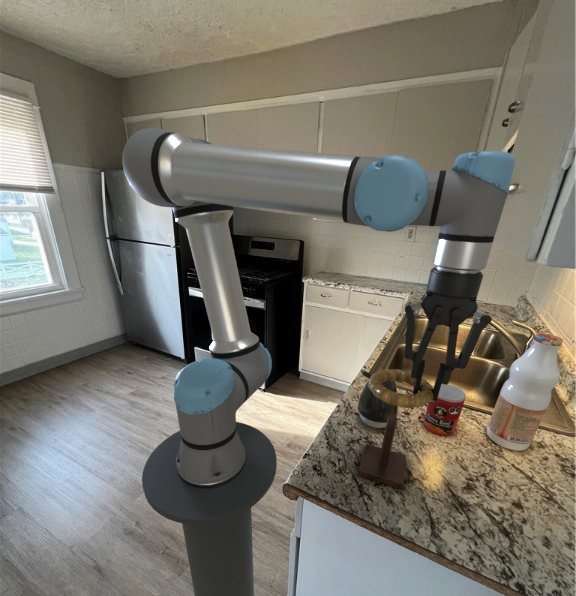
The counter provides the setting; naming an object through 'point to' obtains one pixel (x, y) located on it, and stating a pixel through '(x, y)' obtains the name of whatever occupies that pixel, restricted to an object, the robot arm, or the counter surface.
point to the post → (384, 459)
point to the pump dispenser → (376, 405)
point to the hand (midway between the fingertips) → (424, 394)
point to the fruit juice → (526, 394)
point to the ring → (398, 398)
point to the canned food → (445, 410)
